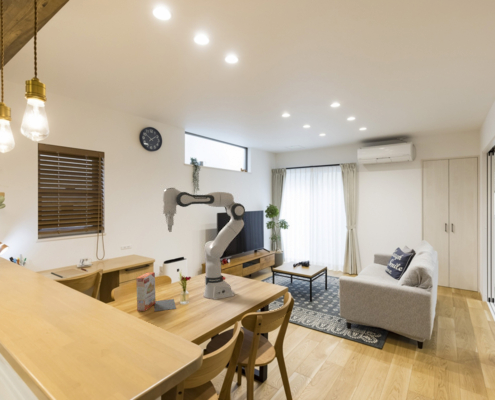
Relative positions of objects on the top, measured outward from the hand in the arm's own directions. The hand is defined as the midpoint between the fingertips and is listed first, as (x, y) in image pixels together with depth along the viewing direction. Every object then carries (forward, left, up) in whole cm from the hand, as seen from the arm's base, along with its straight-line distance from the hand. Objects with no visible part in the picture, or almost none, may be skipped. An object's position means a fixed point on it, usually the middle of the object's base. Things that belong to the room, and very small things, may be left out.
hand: (169, 231), depth 194 cm
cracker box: (+15, +8, -48) cm, 51 cm away
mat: (+4, +8, -48) cm, 49 cm away
